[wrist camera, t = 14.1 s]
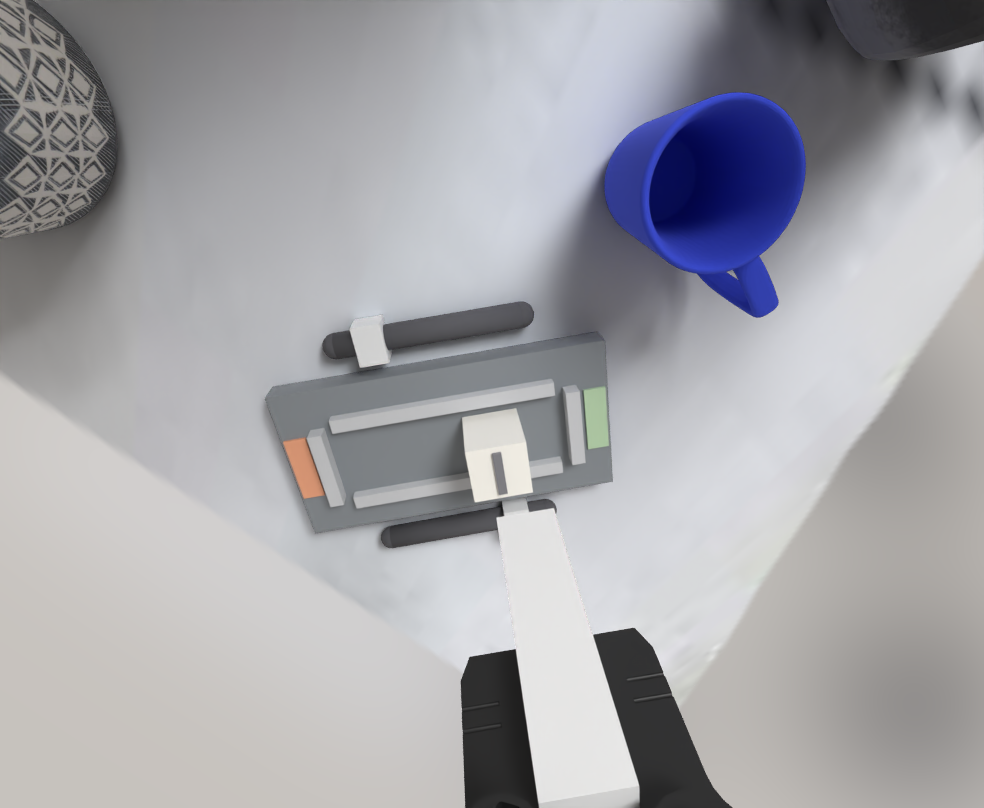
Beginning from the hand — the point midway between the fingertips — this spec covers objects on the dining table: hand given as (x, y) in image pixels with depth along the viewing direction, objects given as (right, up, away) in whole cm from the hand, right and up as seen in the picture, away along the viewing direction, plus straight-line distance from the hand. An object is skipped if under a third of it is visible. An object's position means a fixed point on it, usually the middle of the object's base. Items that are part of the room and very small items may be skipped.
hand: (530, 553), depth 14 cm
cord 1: (-6, +10, +24) cm, 26 cm away
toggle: (-1, +2, +25) cm, 25 cm away
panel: (-4, +2, +27) cm, 28 cm away
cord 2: (-3, -6, +31) cm, 32 cm away
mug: (+10, +17, +22) cm, 30 cm away
